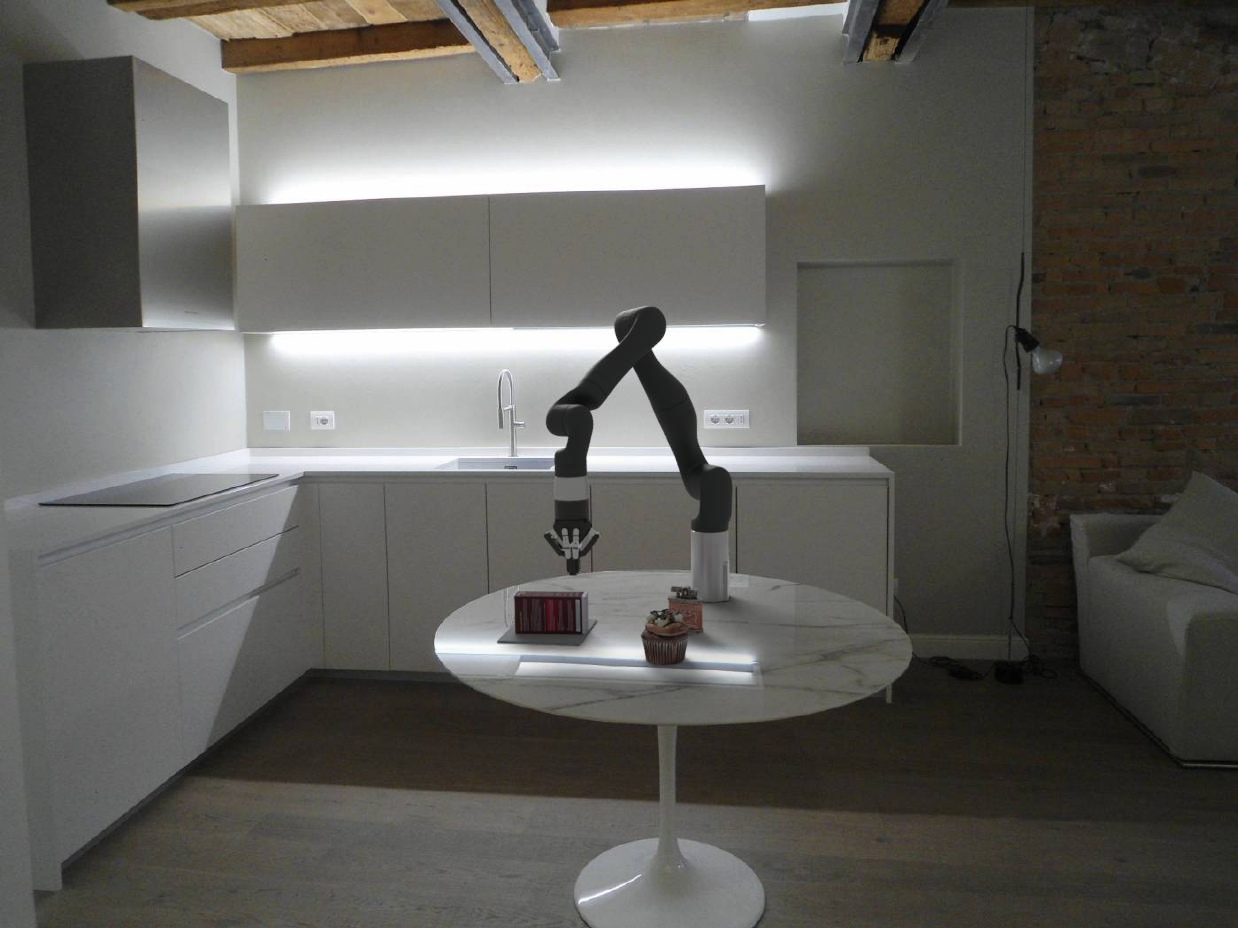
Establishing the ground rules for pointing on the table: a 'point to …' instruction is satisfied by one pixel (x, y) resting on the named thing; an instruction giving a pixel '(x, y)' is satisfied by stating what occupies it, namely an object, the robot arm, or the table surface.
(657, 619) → the cupcake
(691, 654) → the table surface
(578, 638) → the mat
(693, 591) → the lighter
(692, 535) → the robot arm
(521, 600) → the supplement box
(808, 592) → the table surface
